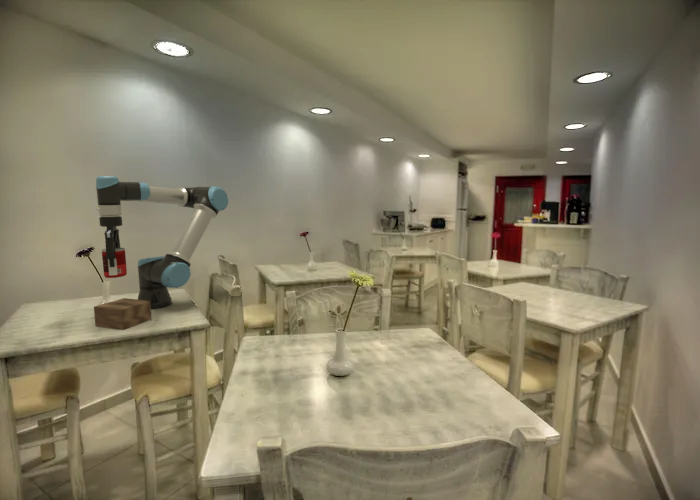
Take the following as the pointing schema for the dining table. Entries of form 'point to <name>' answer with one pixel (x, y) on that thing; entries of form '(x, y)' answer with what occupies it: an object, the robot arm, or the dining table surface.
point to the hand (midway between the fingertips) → (115, 272)
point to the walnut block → (122, 313)
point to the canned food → (120, 263)
